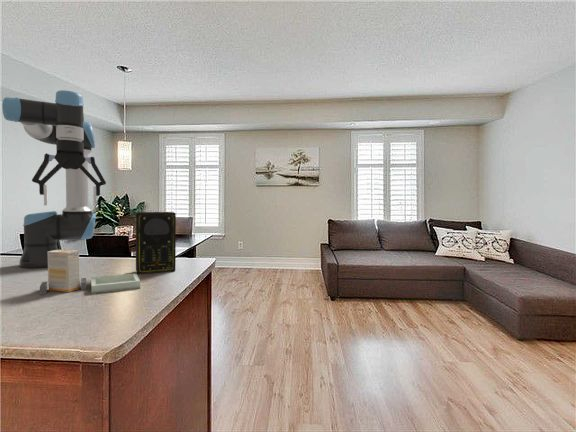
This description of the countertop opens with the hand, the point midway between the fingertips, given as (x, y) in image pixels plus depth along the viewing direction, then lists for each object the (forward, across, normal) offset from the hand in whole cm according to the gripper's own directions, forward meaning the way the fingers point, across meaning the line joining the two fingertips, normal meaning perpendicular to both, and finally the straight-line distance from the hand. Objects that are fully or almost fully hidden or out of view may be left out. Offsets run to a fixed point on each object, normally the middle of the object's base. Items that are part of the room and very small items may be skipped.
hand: (71, 205), depth 110 cm
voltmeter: (+28, +29, +15) cm, 43 cm away
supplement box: (+28, -2, 0) cm, 28 cm away
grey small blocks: (+28, -2, 0) cm, 28 cm away
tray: (+28, +13, -3) cm, 31 cm away
